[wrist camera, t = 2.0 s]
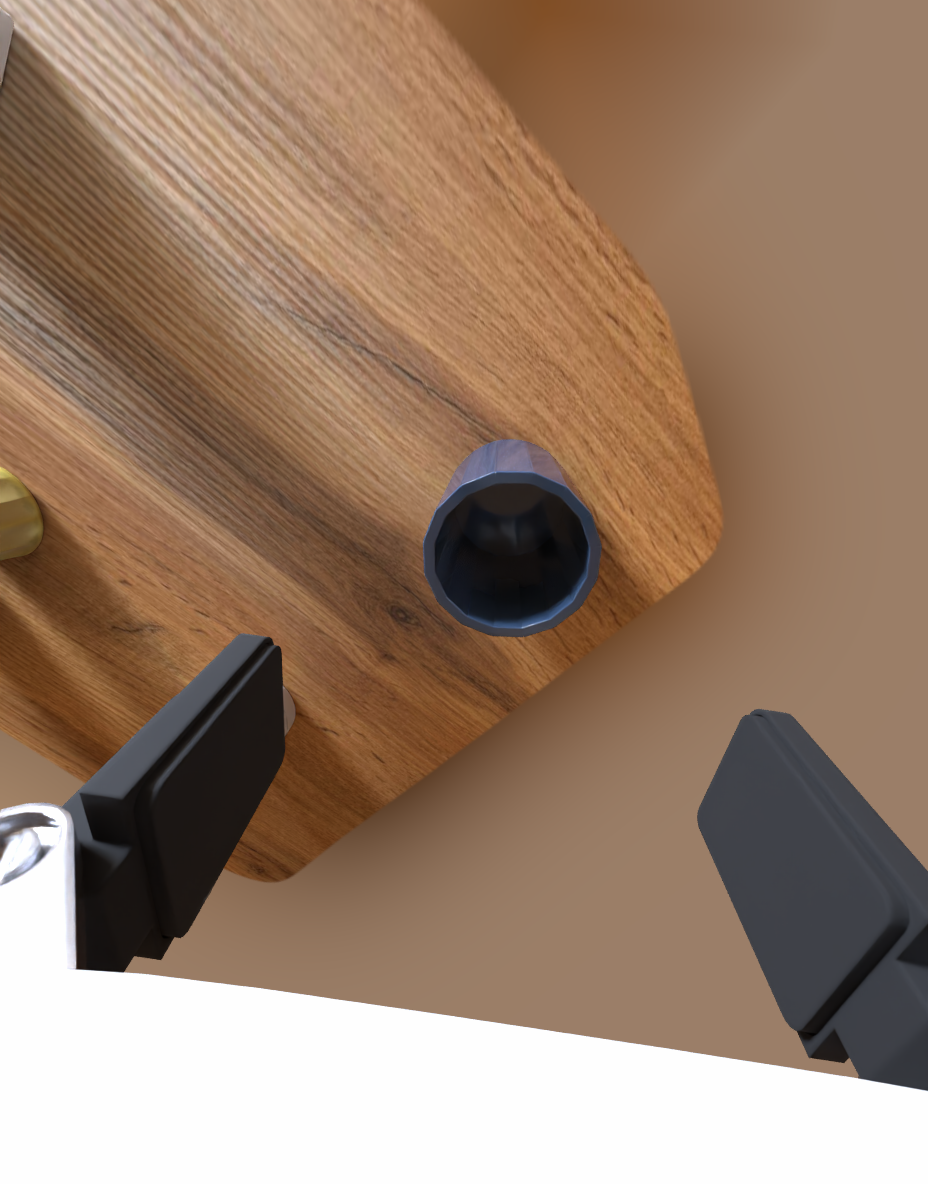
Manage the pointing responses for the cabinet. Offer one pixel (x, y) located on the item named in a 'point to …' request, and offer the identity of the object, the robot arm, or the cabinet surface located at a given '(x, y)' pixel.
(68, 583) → the cabinet surface
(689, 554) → the cabinet surface
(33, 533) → the vase
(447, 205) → the cabinet surface
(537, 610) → the tumbler
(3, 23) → the small box
